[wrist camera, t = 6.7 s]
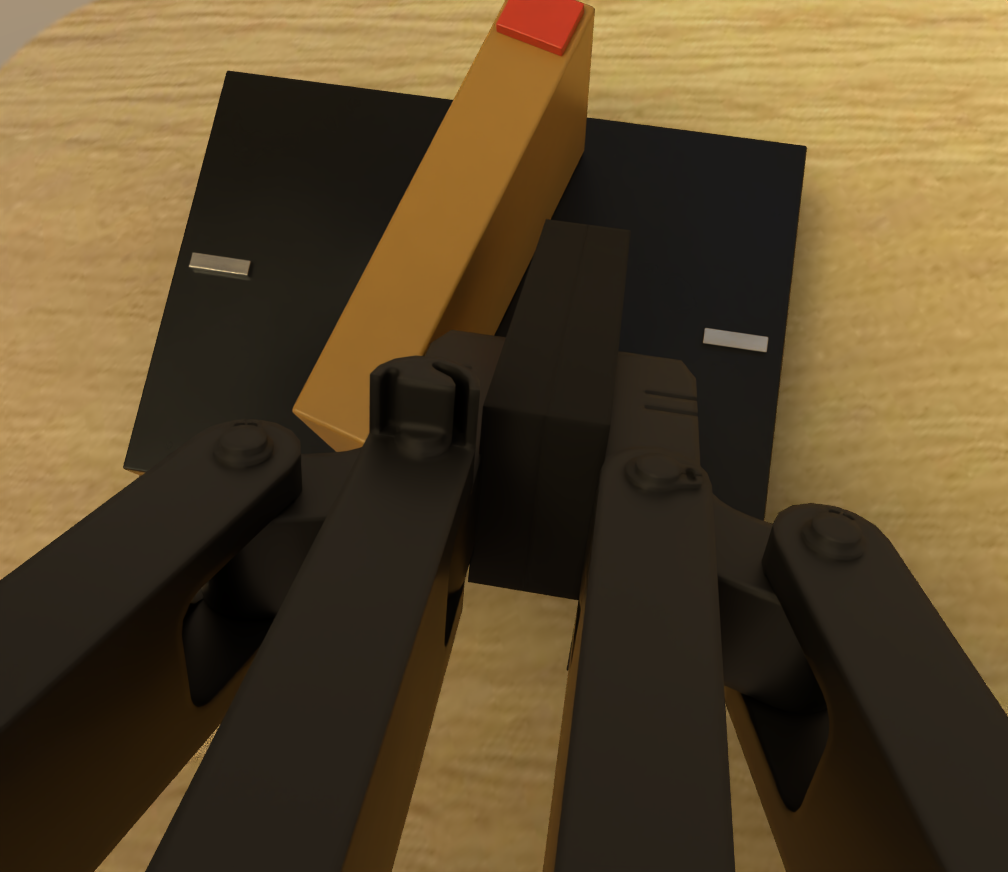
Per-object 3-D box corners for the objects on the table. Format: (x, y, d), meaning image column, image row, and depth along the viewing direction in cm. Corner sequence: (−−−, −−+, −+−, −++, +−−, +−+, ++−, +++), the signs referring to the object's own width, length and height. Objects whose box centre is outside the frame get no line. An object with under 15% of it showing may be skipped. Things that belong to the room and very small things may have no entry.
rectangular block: (416, 496, 20) (372, 446, 15) (351, 466, 20) (285, 407, 15) (585, 149, 22) (597, -3, 17) (523, 124, 22) (516, -34, 17)
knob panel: (159, 552, 23) (100, 539, 20) (275, 83, 26) (239, 8, 23) (722, 651, 22) (751, 652, 19) (783, 149, 25) (816, 80, 22)
